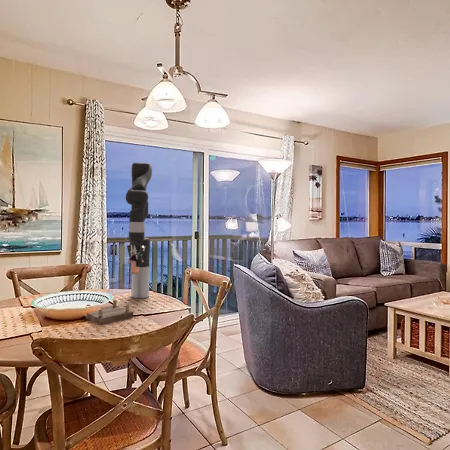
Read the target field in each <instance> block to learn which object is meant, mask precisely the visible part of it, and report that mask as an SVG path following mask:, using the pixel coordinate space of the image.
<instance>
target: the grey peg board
mask: <svg viewBox="0 0 450 450" xmlns="http://www.w3.org/2000/svg"><path fill="white" fill-rule="evenodd" d="M117 302H118V301H117V299H113V300H112V305H108V306H104V307H103V306H102V307H103V308H102V307H100V308H101V309H100V310H98V311H95V312H91V313H87V316H86V318H85V319H87V320H89V321H91V322H93V323H96V324H97V325H99V326H100V325H104V324H105V325H106V324H109V323H114V322H118V321H123V320H127V319H131V318H132V319H133V318H134V311H133V310H131V309H130V303H128V304H125V308H124V307H121V306H119V305H117ZM87 306H90V307H91V304H86V307H87Z"/></svg>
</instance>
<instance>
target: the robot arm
mask: <svg viewBox="0 0 450 450" xmlns="http://www.w3.org/2000/svg"><path fill="white" fill-rule="evenodd" d="M152 174H153V167H152V164H151V163H148V162H132V164H131V187H130V188H129V189H128V190H127V192H126V194H125V201H126V203H127V204H129V205H131V207H130V208H131V210H129V213H128V214H129V218H128V219H129V220H128V221H129V224H128V241H129V244H128V245H126V248H127V252H128V253H127V254H128V256H129V257H130V258H131V256H132V255H134V253H133V249H134V250H135V255H136V267H139V273H140V274H131V275H132V276H131V278H132V279H131V297H132V298H134V299H145V298H148V297H150V253H151V240H150V238H149V237H145V230H146V229H145V227H146V226H145V221H146V219H147V217H148V215H149V201H148V200H149V193H148V192H147V186H148V184H149V182H150V180H151V178H152ZM137 252H139V253H137ZM138 255H139V256H138ZM142 258H143V261H144V262H142V261H141V259H142ZM132 261H133V260H131V262H132Z"/></svg>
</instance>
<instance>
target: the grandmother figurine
mask: <svg viewBox="0 0 450 450" xmlns="http://www.w3.org/2000/svg"><path fill="white" fill-rule="evenodd" d="M133 253H134V255H132V256H131V257H130V258H129V259H128V261H127V263H128V264H131V267H130V268H131V269H130V275H132V274H140V273H139V267H136V255H135V250H134V249H133ZM137 253H139V252H137ZM138 256H139V254H138ZM132 260H133V261H132ZM141 261H142V262H144V261H143V258H142V259H141Z"/></svg>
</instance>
